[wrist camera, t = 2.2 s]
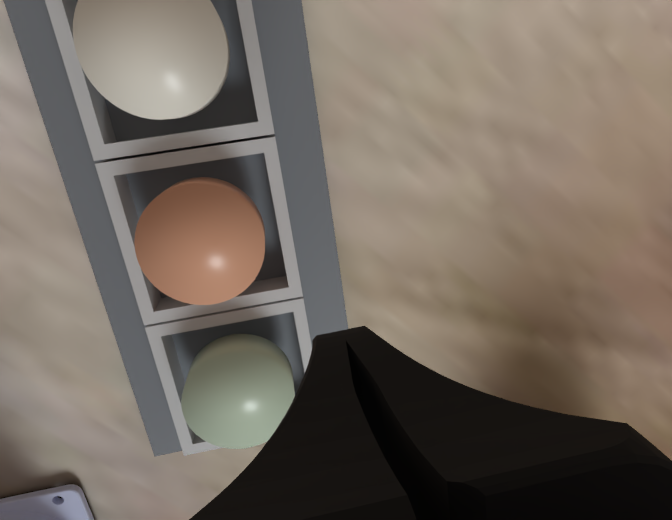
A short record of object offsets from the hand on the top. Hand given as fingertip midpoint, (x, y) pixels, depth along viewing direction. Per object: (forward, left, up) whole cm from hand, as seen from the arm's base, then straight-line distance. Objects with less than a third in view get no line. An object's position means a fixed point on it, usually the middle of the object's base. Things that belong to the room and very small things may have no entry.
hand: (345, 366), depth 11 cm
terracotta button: (-4, +2, -8) cm, 9 cm away
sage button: (-4, -4, -8) cm, 10 cm away
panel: (-4, +2, -10) cm, 11 cm away
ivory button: (-4, +8, -8) cm, 12 cm away
